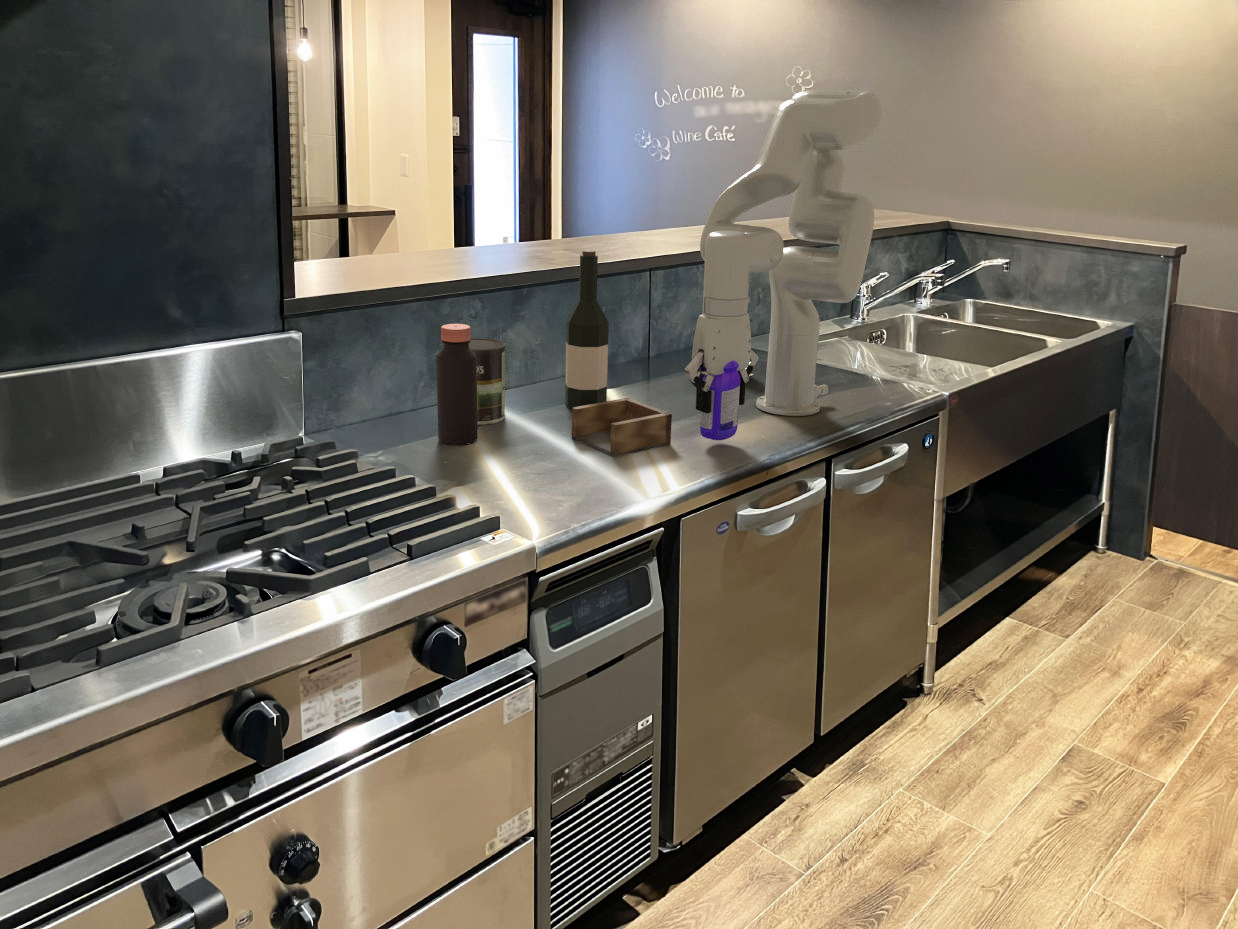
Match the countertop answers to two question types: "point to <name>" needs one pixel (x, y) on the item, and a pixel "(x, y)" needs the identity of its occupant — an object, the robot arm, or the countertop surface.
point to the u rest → (621, 426)
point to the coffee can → (490, 379)
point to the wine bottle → (586, 341)
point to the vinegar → (456, 387)
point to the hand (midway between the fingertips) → (720, 406)
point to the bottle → (722, 405)
